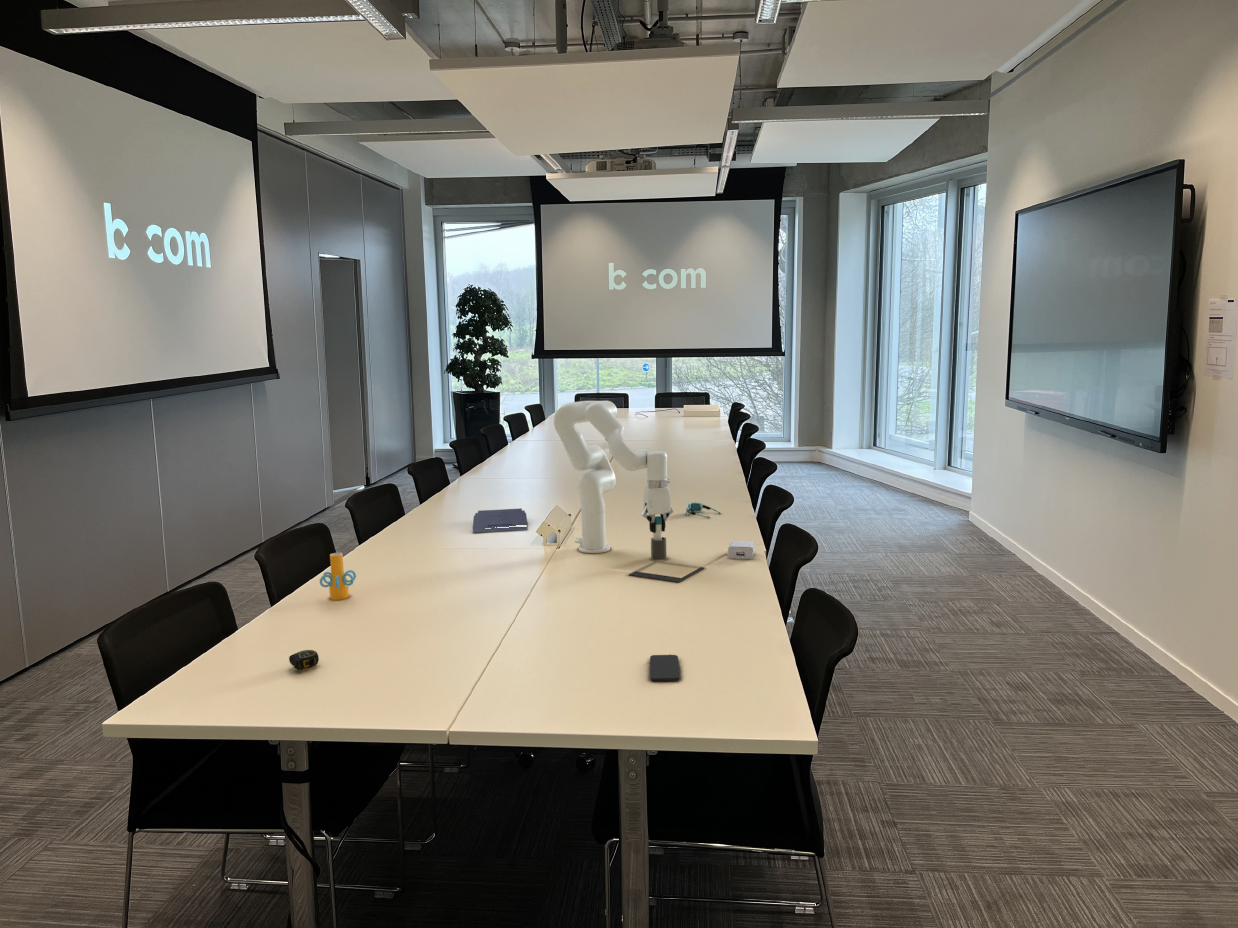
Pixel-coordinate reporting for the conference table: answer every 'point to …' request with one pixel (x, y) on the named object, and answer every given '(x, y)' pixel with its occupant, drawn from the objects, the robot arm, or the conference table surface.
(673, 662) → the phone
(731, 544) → the charger
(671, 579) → the mat
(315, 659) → the tape measure
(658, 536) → the marker
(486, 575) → the conference table surface
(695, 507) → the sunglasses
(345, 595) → the cylinder
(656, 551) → the pen cup
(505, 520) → the dark grey flat slab
